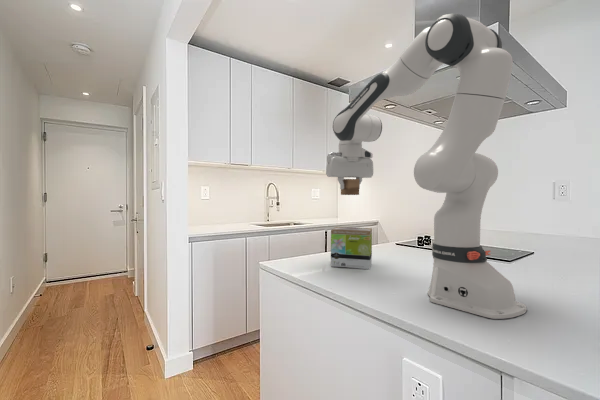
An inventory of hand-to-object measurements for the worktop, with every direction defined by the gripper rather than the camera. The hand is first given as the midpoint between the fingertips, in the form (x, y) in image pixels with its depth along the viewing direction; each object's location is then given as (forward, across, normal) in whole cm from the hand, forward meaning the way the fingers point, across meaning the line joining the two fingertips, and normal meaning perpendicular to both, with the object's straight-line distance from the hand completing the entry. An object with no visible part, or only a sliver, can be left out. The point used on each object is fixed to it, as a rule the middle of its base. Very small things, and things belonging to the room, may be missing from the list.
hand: (350, 189), depth 120 cm
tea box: (+30, +1, 0) cm, 30 cm away
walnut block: (+2, 0, 0) cm, 2 cm away
